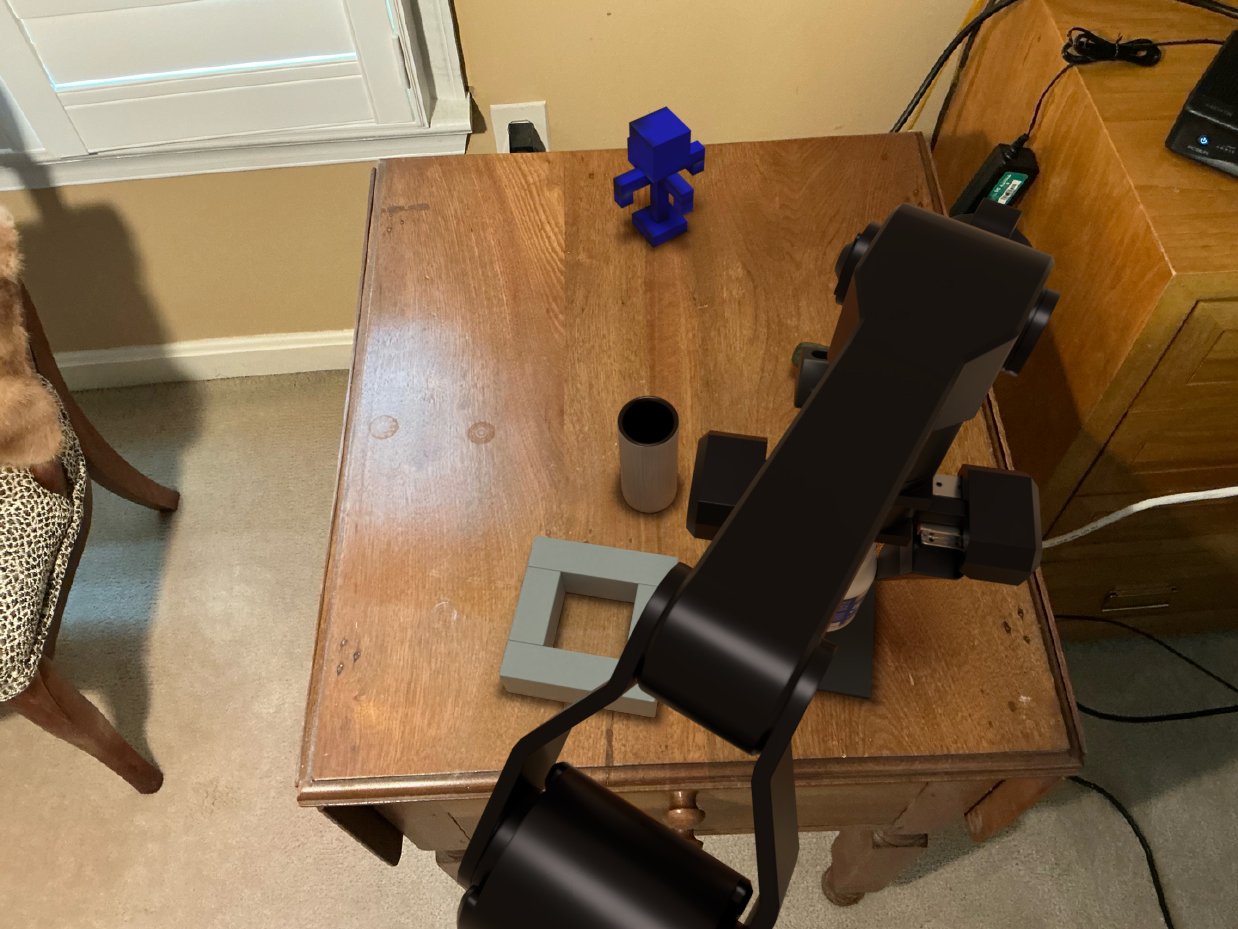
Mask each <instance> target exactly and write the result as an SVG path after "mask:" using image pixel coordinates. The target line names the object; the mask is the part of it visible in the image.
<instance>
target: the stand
mask: <svg viewBox="0 0 1238 929" xmlns="http://www.w3.org/2000/svg"><path fill="white" fill-rule="evenodd" d="M533 538H534V539H533V542H532V545H531V549H530V553H529V557H528V561H527V567H526V568H525V573H524V576H523V580H522V584H521V588H520V592H519V596H518V600H517V602H516V607H515V612H514V614H513V618H512V622H511V626H510V631H509V634H508V638H507V642H506V646H505V649H504V654H503V657H502V661H501V665H500V668H499V672H498V677H499V678H500V681H501V683H502V684H503V686H504V689H505V690H506V693H511V694H518V695H523V696H528V697H534V698H540V699H547V700H551V701H558V702H562V703H568V704H572V703H573V702H575V701H576V700H578V699H579V698H581V697H583V696H584V695H586V694H587V693H589V692H590V691H592V690H594V689H595V688H597V687H598V686H600V685H601V684H603V683H605V682H606V681H608V680H609V679H610V678H611V676H612V674H613V672H614V670H615V667H616V665H617V663H618V661H619V659H620V658H616V657H612V656H605V655H600V654H599V655H598V654H592V653H586V652H581V651H575V650H569V649H563V648H558V647H557V648H556V647H554V644H555V640H556V636H557V632H558V628H559V622H560V618H561V614H562V609H563V605H564V601H565V596H566V593H570V594H576V595H581V596H588V597H589V596H590V597H593V598H601V599H607V600H612V601H618V602H619V601H620V602H626V603H633V604H634V605H633V610H632V615H631V621H630V627H629V630H628V636H627V642H628V640H629V638H630V636H631V633H632V631H633V629H634V627H635V625H636V623H637V621H638V619H639V617H640V615H641V614H642V612H643V610H644V608H645V606H646V604H647V602H648V601H649V599H650V598H651V596H652V594H653V593H654V591H655V590H656V588H657V586H658V585H659V583H660V582H661V581H662V580H663V578H664V577H665V576H666V574H667V573H668V572H669V571H670V569H671V568H673V567H674V566H675V565H676V564H677V563H679V562H680V561H679V557H678V556H673V555H667V554H660V553H653V552H647V551H641V550H634V549H627V548H621V547H613V546H607V545H601V544H595V543H589V542H588V543H587V542H581V541H574V540H569V539H568V540H567V539H561V538H554V537H550V536H549V537H548V536H541V535H534V537H533ZM627 642H626V643H627ZM658 702H659V701H658V700H656V699H655V698H653V697H651V696H650V695H648V694H646V693H644V692H643V691H641V689H640V688H639V686H638V684H636V685H635V686H634V687H633V688H631V689H630V690H629V691H627V692H626V693H625V694H624V695H622V696H621V697H620V698H618V699H617V700H616V701H614V702H613V703H611V704H609V705H608V706H606V707H605V708H603V709H602V710H609V711H614V712H620V713H625V714H630V715H637V716H643V717H649V718H653V719H654V718H656V715H657V709H658Z"/></svg>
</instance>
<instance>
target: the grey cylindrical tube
mask: <svg viewBox="0 0 1238 929" xmlns="http://www.w3.org/2000/svg"><path fill="white" fill-rule="evenodd" d="M616 426H617V427H616V428H617V439H618V440H617V441H618V455H619V469H620V482H621V492H622V497H623V498H624V500H625V502H626V503H627V504H628V505H629V507H631V508H632V509H634V510H636V511H638V512H640V513H645V514H652V513H653V514H654V513H657V512H661V511H663V510H665V509H667V508H668V507H669V506H670V505H671V504H672V503H673V502H674V500H675V499H676V496H677V489H678V471H679V470H678V469H679V468H678V466H679V442H680V440H679V439H680V417H679V412H678V411H677V409H676V408H675V406H674V405H673V404H672V403H671V402H669V401H668V400H667V399H664V398H663V397H659V396H655V395H642V396H637V397H634V398H632V399H630V400H629V401H628V402H626V403H625V404H624V405H623V406H622V407H621V409H620V410H619V412H618V415H617V418H616Z"/></svg>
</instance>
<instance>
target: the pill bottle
mask: <svg viewBox="0 0 1238 929" xmlns="http://www.w3.org/2000/svg"><path fill="white" fill-rule="evenodd" d="M876 550H877V543H875V542H874V543H873V544H872V546H871V548H870V550H869V552H868V554H867V556H866V558H865V560H864V562H863V563H862V565H861V567H860V569H859V571H858V573H857V575H856V577H855V579H854V581H853V582H852V584H851V586H850V588H849V590H848V592H847V594H846V596H845V598H844V600H843V601H842V603H841V605H840V607H839V609H838V611H837V613H836V615H835V617H834V618H833V620H832V622H831V624H830V626H829V628H828V630H827V632H829V631H834V630H837V629H840V628H842V627H844V626H845V625H847V624H848V623H849V622H850V621H851V620H852V619H853V617H854V616H855V614H856V612H857V611H858V609H859V607H860V605H861V603H862V601H863V599H864V597H865V596H866V593H867V592H868V589H869V587H870V586H871V584H872V583H874V582H873V581H874V577H875V574H876V570H877V557H878V556H877V553H876Z"/></svg>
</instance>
